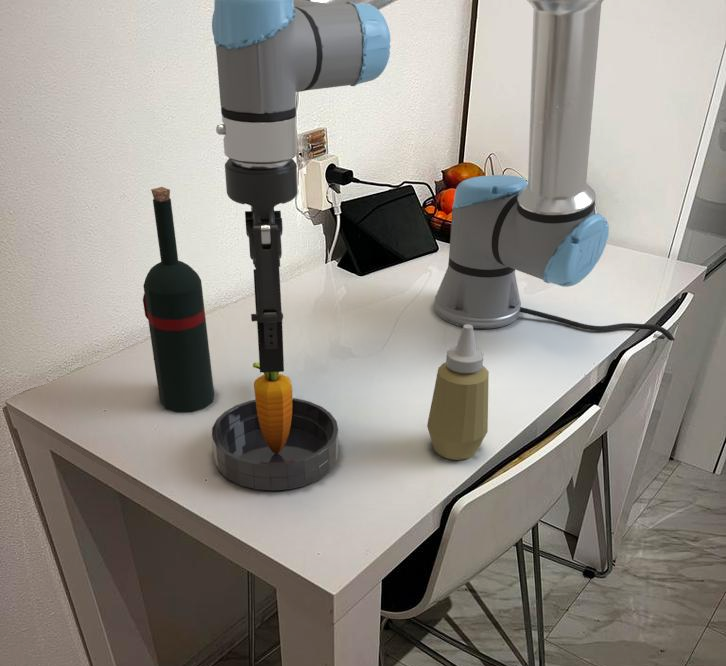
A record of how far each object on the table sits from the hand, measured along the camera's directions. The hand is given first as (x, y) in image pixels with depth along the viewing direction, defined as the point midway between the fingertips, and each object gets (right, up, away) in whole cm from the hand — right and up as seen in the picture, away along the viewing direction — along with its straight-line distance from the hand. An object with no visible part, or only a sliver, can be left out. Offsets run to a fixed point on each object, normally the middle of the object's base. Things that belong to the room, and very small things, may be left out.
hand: (269, 344), depth 96 cm
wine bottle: (-15, -4, +22) cm, 27 cm away
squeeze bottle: (+24, -12, +12) cm, 29 cm away
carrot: (0, -13, +10) cm, 16 cm away
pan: (0, -13, +10) cm, 16 cm away
